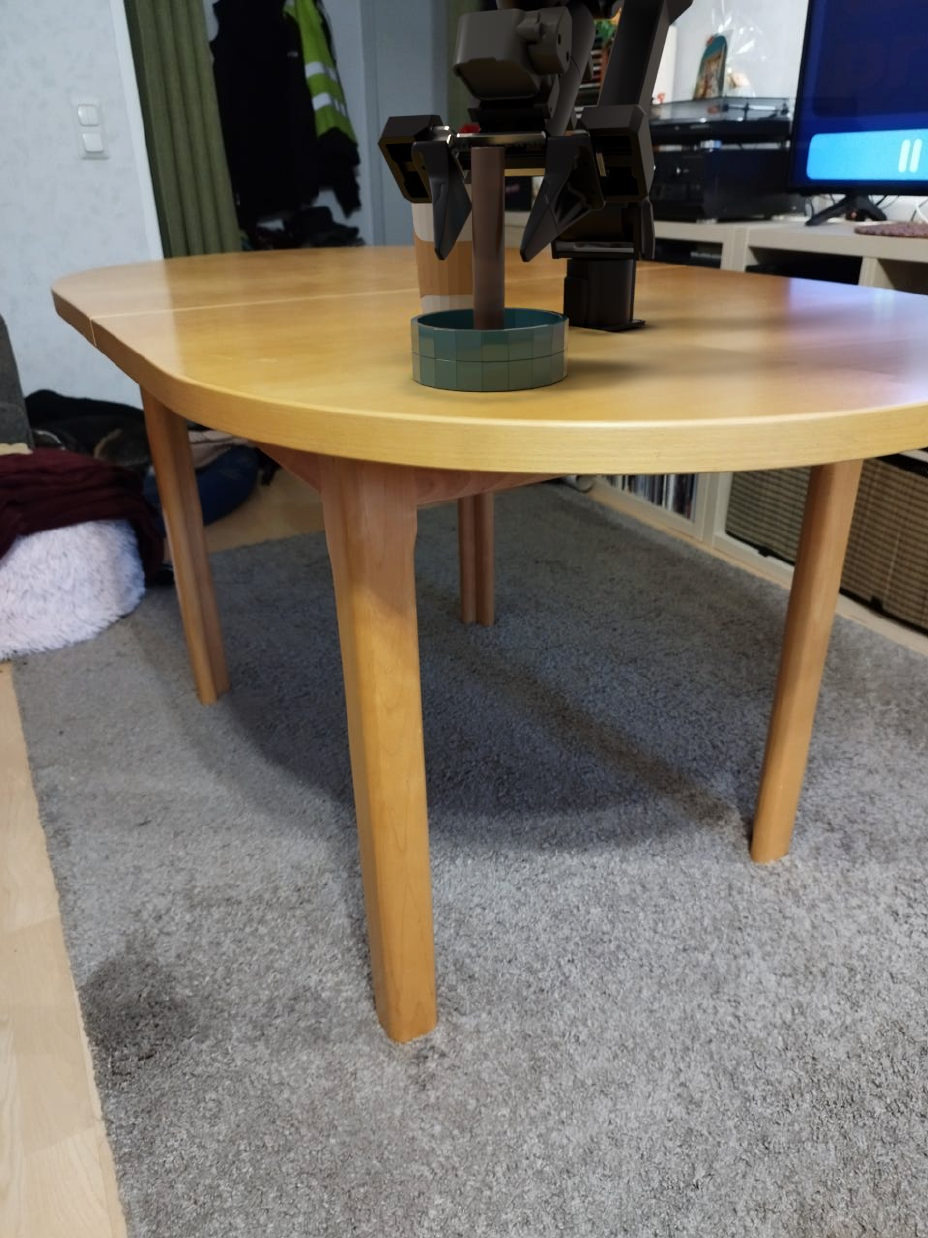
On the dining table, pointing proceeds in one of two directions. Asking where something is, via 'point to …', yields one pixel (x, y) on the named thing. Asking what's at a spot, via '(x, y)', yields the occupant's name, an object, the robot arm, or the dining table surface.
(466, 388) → the bowl
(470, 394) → the dining table surface
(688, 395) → the dining table surface
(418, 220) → the coffee cup
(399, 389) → the dining table surface
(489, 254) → the stick
